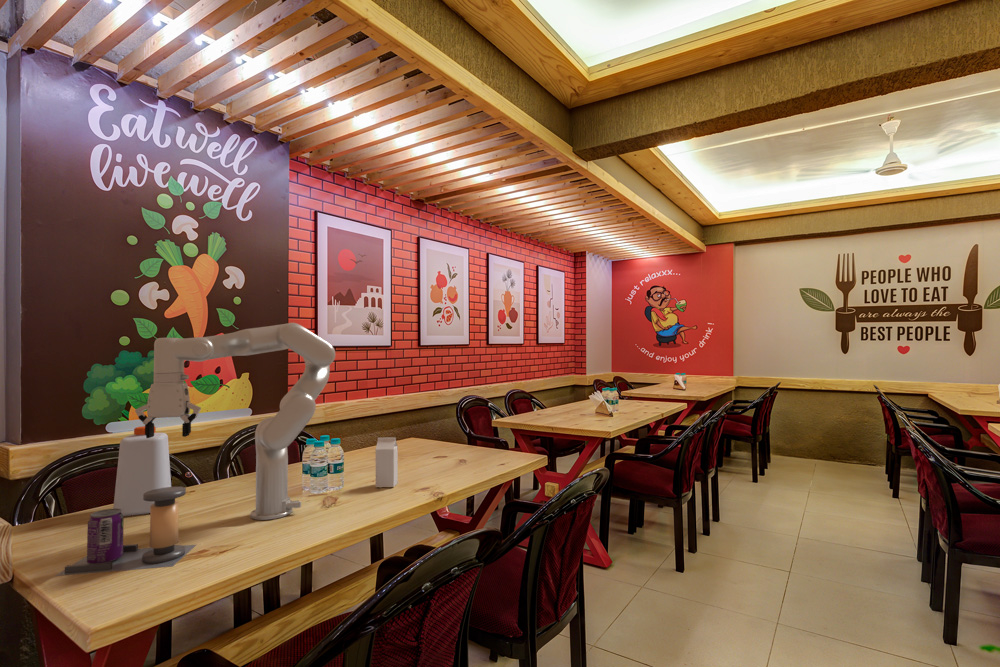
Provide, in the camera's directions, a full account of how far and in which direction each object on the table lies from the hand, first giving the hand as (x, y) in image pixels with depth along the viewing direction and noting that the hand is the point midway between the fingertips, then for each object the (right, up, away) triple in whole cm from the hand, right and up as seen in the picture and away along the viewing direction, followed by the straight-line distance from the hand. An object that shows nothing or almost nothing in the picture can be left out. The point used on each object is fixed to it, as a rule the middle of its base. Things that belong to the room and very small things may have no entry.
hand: (168, 436), depth 147 cm
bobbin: (+13, -26, -21) cm, 36 cm away
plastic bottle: (-23, -30, +22) cm, 44 cm away
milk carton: (+54, -30, +49) cm, 79 cm away
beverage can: (0, -26, -23) cm, 35 cm away
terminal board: (+6, -27, -22) cm, 36 cm away
